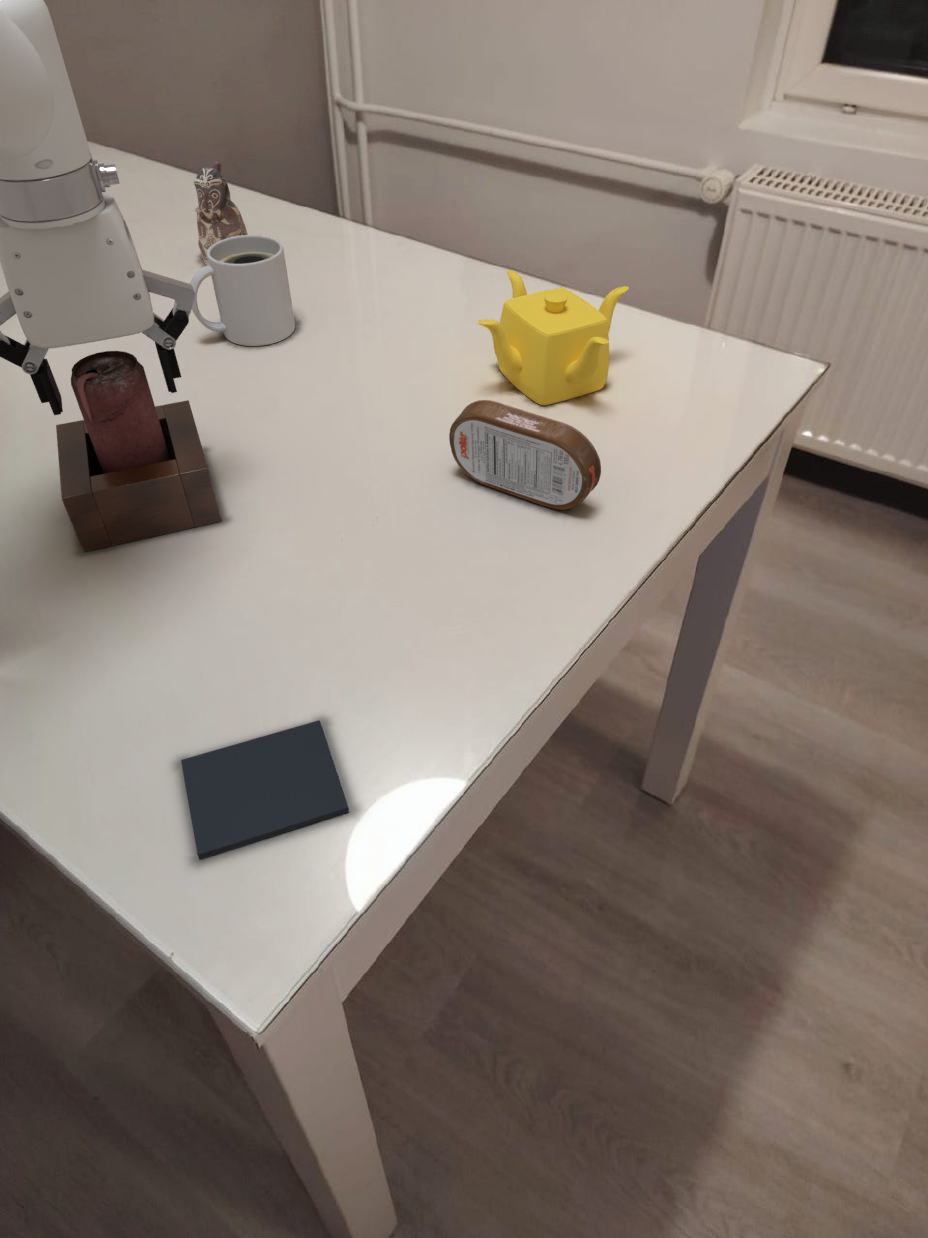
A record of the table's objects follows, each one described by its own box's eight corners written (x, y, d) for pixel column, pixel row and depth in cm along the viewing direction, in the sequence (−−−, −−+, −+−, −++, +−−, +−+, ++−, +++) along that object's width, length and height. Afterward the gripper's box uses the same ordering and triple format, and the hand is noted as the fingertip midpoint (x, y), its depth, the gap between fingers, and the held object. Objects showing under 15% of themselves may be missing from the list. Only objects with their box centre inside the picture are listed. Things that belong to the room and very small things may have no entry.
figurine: (191, 262, 123) (170, 171, 115) (219, 243, 128) (202, 155, 119) (233, 270, 121) (216, 178, 113) (261, 251, 126) (246, 161, 117)
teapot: (506, 339, 106) (508, 260, 99) (621, 355, 103) (631, 275, 96) (472, 400, 96) (473, 317, 89) (598, 419, 93) (609, 335, 86)
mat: (199, 859, 56) (197, 855, 56) (182, 764, 61) (180, 759, 61) (349, 812, 58) (348, 807, 58) (320, 724, 64) (319, 719, 63)
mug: (302, 314, 111) (291, 235, 104) (284, 350, 104) (270, 268, 97) (220, 311, 112) (203, 232, 105) (197, 347, 105) (177, 264, 98)
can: (100, 512, 82) (49, 378, 72) (137, 474, 86) (94, 343, 76) (156, 523, 81) (113, 388, 71) (191, 485, 85) (154, 352, 75)
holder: (83, 552, 78) (61, 498, 74) (76, 477, 86) (55, 424, 82) (221, 521, 81) (208, 468, 77) (202, 451, 89) (188, 399, 85)
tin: (597, 507, 82) (607, 430, 76) (583, 525, 80) (592, 448, 74) (461, 461, 88) (460, 386, 82) (445, 477, 86) (443, 402, 80)
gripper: (160, 159, 68) (208, 358, 81) (-78, 189, 64) (10, 394, 76) (172, 191, 63) (221, 397, 76) (-85, 226, 59) (11, 439, 71)
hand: (115, 395), depth 76 cm, fingers open, 9 cm apart
